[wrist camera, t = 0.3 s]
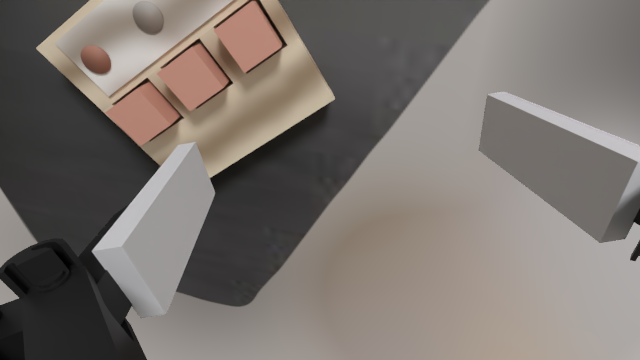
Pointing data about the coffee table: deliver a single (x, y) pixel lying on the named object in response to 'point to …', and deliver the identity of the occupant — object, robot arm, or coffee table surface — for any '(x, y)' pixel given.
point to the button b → (194, 76)
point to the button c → (249, 36)
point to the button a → (143, 113)
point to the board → (168, 44)
